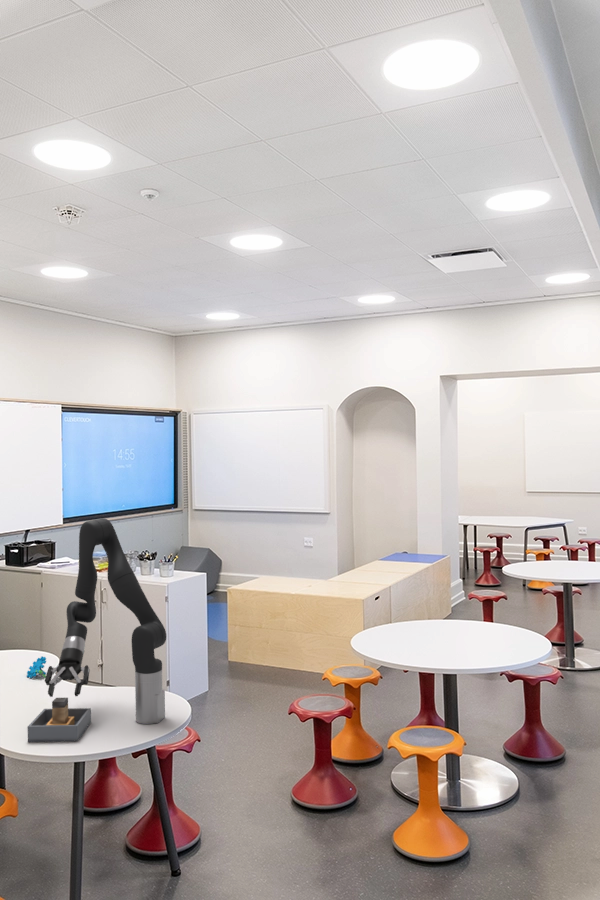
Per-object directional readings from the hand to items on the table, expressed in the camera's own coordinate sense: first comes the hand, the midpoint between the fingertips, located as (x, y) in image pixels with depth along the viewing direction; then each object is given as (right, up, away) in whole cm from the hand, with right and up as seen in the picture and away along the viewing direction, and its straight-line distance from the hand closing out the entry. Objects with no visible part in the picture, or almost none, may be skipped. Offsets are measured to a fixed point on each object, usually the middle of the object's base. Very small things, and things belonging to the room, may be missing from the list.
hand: (63, 695), depth 249 cm
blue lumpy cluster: (-29, -11, +57) cm, 65 cm away
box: (0, -11, -3) cm, 12 cm away
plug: (0, -10, -3) cm, 11 cm away
